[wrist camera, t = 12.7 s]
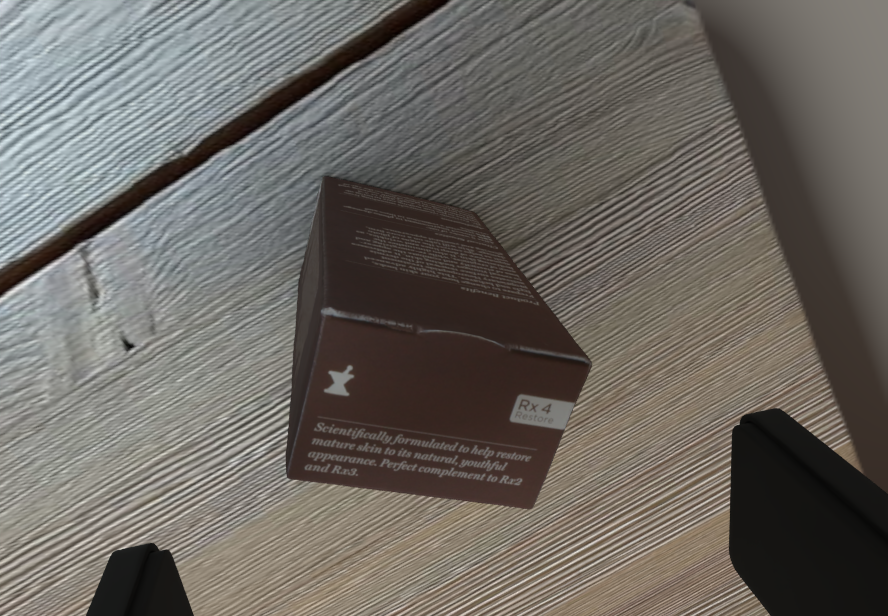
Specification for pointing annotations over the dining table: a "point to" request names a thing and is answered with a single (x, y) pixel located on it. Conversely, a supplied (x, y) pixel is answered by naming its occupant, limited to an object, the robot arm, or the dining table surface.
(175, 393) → the dining table surface
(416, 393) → the box
